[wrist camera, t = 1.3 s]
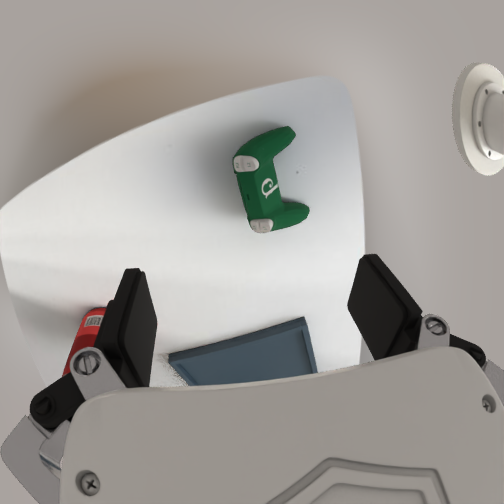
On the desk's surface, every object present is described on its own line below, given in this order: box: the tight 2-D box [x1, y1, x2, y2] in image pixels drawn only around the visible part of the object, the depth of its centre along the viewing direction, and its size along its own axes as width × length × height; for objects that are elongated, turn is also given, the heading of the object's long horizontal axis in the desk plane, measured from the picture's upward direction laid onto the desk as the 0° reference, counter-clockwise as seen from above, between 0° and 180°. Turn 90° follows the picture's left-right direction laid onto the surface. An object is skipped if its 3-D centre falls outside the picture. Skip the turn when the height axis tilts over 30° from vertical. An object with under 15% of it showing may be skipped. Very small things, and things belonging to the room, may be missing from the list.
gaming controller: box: [233, 126, 310, 233], centre depth 24 cm, size 9×4×6 cm
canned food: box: [62, 308, 106, 377], centre depth 28 cm, size 8×8×11 cm
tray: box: [168, 317, 318, 386], centre depth 40 cm, size 20×17×2 cm
